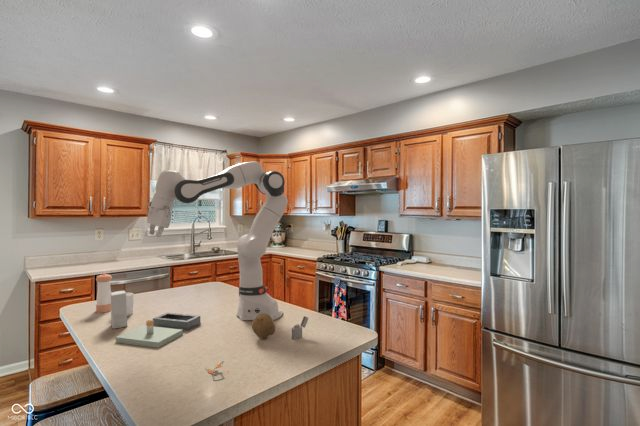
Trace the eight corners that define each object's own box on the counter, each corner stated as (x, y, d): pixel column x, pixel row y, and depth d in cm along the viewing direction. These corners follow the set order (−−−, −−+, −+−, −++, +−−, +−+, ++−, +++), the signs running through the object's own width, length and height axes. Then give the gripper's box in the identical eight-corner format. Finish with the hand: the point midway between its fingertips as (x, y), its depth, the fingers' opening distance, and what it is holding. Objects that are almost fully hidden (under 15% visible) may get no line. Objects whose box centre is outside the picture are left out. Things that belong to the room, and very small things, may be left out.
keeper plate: (182, 334, 143) (182, 317, 143) (158, 347, 130) (158, 329, 129) (143, 329, 148) (142, 313, 148) (115, 342, 135) (115, 324, 135)
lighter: (293, 339, 137) (293, 319, 137) (291, 338, 138) (291, 318, 138) (308, 335, 141) (308, 316, 140) (306, 334, 142) (306, 315, 142)
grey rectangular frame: (200, 323, 156) (200, 315, 156) (187, 330, 148) (187, 322, 148) (167, 320, 161) (167, 312, 161) (152, 326, 153) (152, 318, 152)
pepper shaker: (107, 312, 173) (106, 274, 173) (92, 312, 173) (92, 274, 173) (115, 308, 181) (115, 271, 180) (102, 308, 181) (101, 271, 180)
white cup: (111, 316, 168) (111, 295, 167) (126, 311, 175) (126, 292, 175) (123, 318, 165) (123, 297, 164) (137, 313, 172) (137, 293, 172)
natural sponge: (249, 336, 141) (249, 311, 141) (270, 332, 144) (270, 309, 144) (254, 344, 133) (254, 318, 132) (277, 340, 136) (276, 315, 136)
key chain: (234, 377, 107) (234, 374, 107) (210, 383, 104) (210, 380, 104) (225, 361, 118) (225, 359, 118) (202, 366, 115) (202, 363, 115)
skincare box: (127, 326, 153) (127, 293, 152) (111, 329, 149) (111, 295, 149) (126, 321, 160) (125, 289, 159) (110, 324, 156) (110, 291, 156)
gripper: (177, 208, 148) (169, 239, 147) (162, 205, 164) (154, 234, 162) (162, 205, 144) (154, 237, 143) (148, 202, 159) (140, 231, 158)
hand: (154, 235), depth 153 cm, fingers open, 8 cm apart
